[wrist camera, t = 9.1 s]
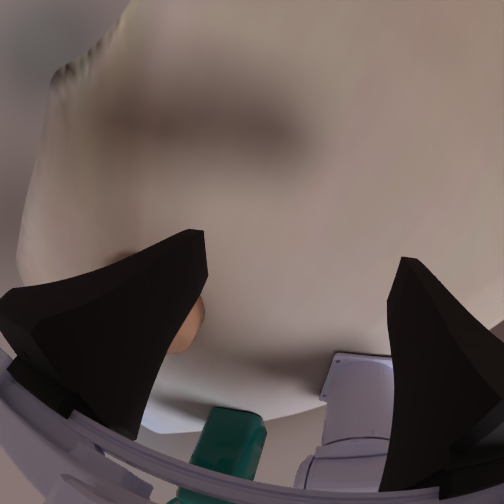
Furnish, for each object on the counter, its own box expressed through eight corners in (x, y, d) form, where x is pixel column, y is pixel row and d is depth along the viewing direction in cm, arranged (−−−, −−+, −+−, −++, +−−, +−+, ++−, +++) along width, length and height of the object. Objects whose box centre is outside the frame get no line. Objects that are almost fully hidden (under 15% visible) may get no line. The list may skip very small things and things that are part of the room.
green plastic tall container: (261, 412, 36) (216, 548, 18) (269, 434, 41) (233, 548, 22) (200, 402, 39) (146, 522, 21) (215, 424, 43) (172, 528, 25)
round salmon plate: (210, 339, 30) (198, 363, 27) (135, 319, 32) (120, 339, 29) (200, 264, 25) (182, 288, 22) (112, 249, 27) (92, 268, 24)
